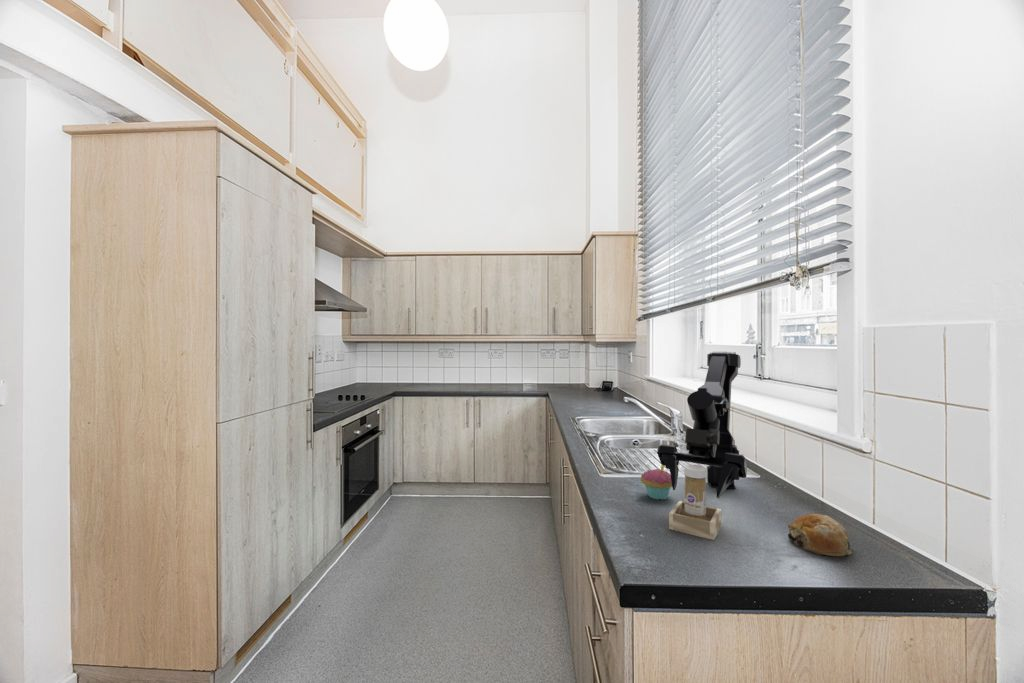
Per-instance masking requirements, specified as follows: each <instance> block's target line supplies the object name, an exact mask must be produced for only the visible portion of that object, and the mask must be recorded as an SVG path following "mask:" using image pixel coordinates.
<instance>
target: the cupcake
mask: <svg viewBox="0 0 1024 683" xmlns="http://www.w3.org/2000/svg"><path fill="white" fill-rule="evenodd" d="M664 468H665V466H664V465H662V464H661V466H660V468H654V469H650V470H649V469H648V470H646V471H644V472H643V473H642V474H641V476H640V482H641V483H642V484H643V485H644V486H645V489H646V492H647V495H648V497H649V498H651V499H655V500H659V499H661V500H666V499H668V495H669V494H670V490H671V488H672V481H671V475H670V472H668V471H666V470H664Z"/></svg>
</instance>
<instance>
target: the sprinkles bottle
mask: <svg viewBox="0 0 1024 683" xmlns="http://www.w3.org/2000/svg"><path fill="white" fill-rule="evenodd" d="M683 470H684V471H683V475H684V502H685V516H689V517H694V518H699V519H703V520H706V506H707V489H706V484H707V483H706V481H707V467H705V466H702V465H700V464H685V466H684V468H683Z"/></svg>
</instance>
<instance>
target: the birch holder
mask: <svg viewBox="0 0 1024 683" xmlns="http://www.w3.org/2000/svg"><path fill="white" fill-rule="evenodd" d="M722 518H723V517H722V509H721V508H718V507H714V506H713V507H712V506H708V505H706V520H703V519H699V518H694V517H689V516H685V500H684V501H682V500H679V501H678V502H677V503H676V504H675V505H674V507H673V508H672V509H671V510H670V512H669V513H668V530H670V529H671V531H674V530H675V531H674V532H678V531H679V532H678V533H681V534H682V533H684V534H687V535H692V536H696V537H700V538H703V539H708V540H713V541H715V539H716V537H717V535H718V533H719V531H720V529H721V527H722V520H723V519H722Z"/></svg>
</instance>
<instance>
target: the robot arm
mask: <svg viewBox="0 0 1024 683" xmlns="http://www.w3.org/2000/svg"><path fill="white" fill-rule="evenodd" d="M706 356H707V357H706V358H707V360H706V361H707V364H706V365H707V367H708V369H707V372H706V377H705V380H704V384H702V385H701V386H699V387H698V388H697V390H696V391H693V392H691V393H690V394H689V395H688V397H687V398H686V399H687V401H686V402H687V406H688V408H689V412H690V416H691V420H692V421H693V427H692V428H686V429H685V439H684V443H685V444H686V445H685V448H686V450H687V451H688V452H680V451H678V449H677V446H676V445H670V444H664V443H661V444H659V446H658V447H657V451H656V454H657V456H658V459H659V462H660V464H661V465H664V468H665V469H667V470H669V474H670V475H671V481H672V487H671V488H672V491H675V490H676V488H677V486H678V485H677V484H678V477H679V470H680V469H679V468H680V467H679V465H680V464H679V463H680V462H685V463H692V464H697V465H704V466H706V481H707V484H709V486H710V487H712V488H716V498H717V499H720V498H721V496H722V495H723V493H724V492H725V491H726V489H731V490H736V489H737V486H736V485H735V481H739V480H740V478H741V479H745V478H747V473H748V466H747V460H746V457H745V456H744V455H743V454H740V451H739V449H738V447H737V445H735V444H736V441H735V439H734V436H733V435H732V433H731V432H730V422H731V420H730V418H731V401H732V400H731V399H732V398H731V397H732V382H733V381H734V380H735V378H736V377H737V376H738V373H739V368H741V365H742V364H741V362H742V361H741V360H742V359H741V355H739V354H738V353H736V351H735V352H734V351H733V352H732V351H712V352H709V353H707V354H706Z"/></svg>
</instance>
